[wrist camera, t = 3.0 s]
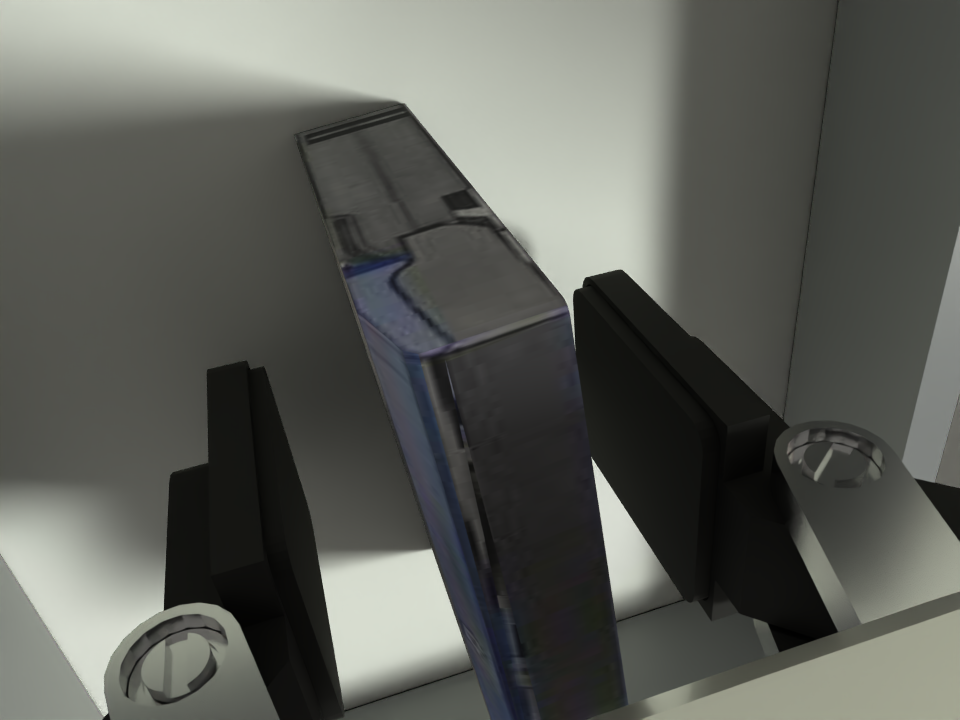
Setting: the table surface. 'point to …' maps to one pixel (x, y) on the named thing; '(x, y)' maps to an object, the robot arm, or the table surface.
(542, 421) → the mini dv tape
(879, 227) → the bin
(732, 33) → the table surface
